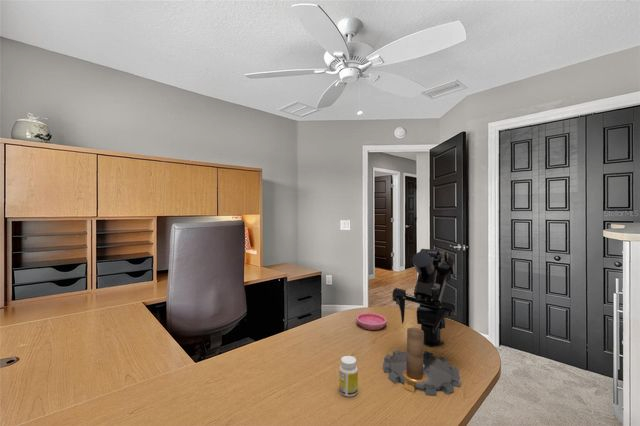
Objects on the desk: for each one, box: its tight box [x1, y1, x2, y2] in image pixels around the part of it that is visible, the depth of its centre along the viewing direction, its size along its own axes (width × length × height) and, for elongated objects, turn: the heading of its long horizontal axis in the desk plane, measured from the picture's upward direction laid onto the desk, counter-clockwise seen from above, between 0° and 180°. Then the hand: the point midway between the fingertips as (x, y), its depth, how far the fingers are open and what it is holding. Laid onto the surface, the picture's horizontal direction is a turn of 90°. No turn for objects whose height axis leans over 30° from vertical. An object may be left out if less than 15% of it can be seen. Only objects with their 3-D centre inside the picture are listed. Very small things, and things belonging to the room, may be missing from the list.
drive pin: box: [406, 327, 425, 380], centre depth 80 cm, size 4×4×12 cm
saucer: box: [355, 312, 388, 331], centre depth 118 cm, size 12×12×3 cm
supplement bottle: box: [338, 355, 359, 398], centre depth 75 cm, size 5×5×8 cm
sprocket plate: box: [382, 349, 461, 396], centre depth 84 cm, size 21×21×2 cm
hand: (417, 327), depth 88 cm, fingers open, 9 cm apart
